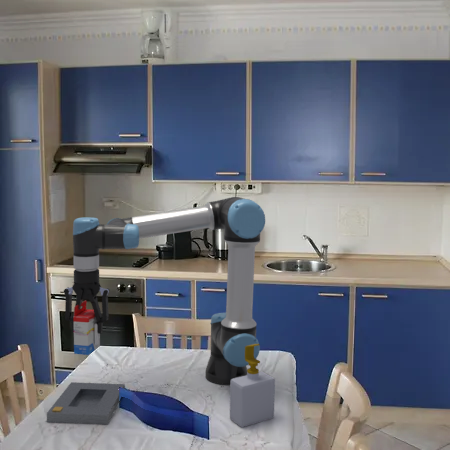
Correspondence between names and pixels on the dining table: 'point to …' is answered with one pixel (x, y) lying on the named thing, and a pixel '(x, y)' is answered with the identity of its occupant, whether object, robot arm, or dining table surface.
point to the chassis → (86, 403)
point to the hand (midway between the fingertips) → (87, 342)
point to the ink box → (84, 330)
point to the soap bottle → (252, 394)
